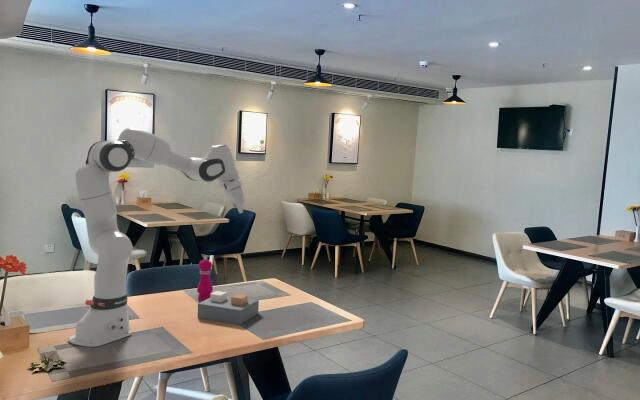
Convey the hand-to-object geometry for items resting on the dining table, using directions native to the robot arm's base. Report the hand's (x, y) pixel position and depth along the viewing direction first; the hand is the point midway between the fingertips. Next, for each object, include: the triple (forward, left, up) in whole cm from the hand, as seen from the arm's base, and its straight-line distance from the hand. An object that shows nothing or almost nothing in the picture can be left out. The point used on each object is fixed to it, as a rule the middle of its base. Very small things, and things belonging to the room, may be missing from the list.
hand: (238, 210), depth 225 cm
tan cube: (-11, -8, -40) cm, 42 cm away
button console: (-11, -3, -44) cm, 45 cm away
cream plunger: (-11, +2, -40) cm, 41 cm away
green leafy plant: (-79, +23, -44) cm, 94 cm away
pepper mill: (+5, +19, -44) cm, 48 cm away
